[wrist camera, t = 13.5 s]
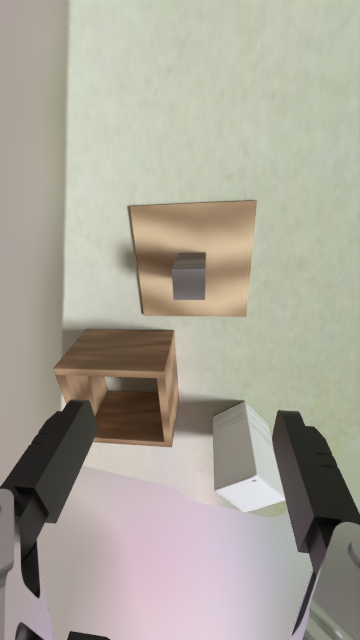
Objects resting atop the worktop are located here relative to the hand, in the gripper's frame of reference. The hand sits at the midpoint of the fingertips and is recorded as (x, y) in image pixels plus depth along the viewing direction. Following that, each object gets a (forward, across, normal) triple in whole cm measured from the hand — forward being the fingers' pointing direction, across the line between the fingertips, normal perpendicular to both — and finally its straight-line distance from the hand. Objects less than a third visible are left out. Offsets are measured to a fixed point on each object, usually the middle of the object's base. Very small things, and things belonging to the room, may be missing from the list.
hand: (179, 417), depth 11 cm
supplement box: (+24, -7, +29) cm, 39 cm away
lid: (+25, +1, 0) cm, 25 cm away
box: (+24, +11, +17) cm, 32 cm away
